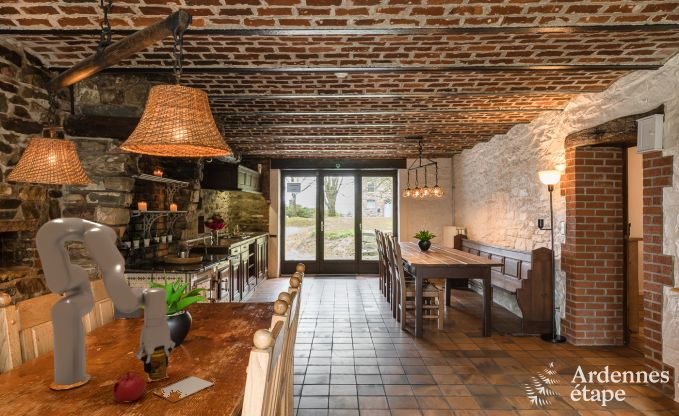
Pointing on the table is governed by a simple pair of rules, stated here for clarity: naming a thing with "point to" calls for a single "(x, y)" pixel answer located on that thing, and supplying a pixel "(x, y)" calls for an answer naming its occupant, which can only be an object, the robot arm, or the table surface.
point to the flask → (127, 315)
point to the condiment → (158, 363)
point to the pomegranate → (129, 387)
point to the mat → (186, 386)
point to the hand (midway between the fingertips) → (156, 369)
